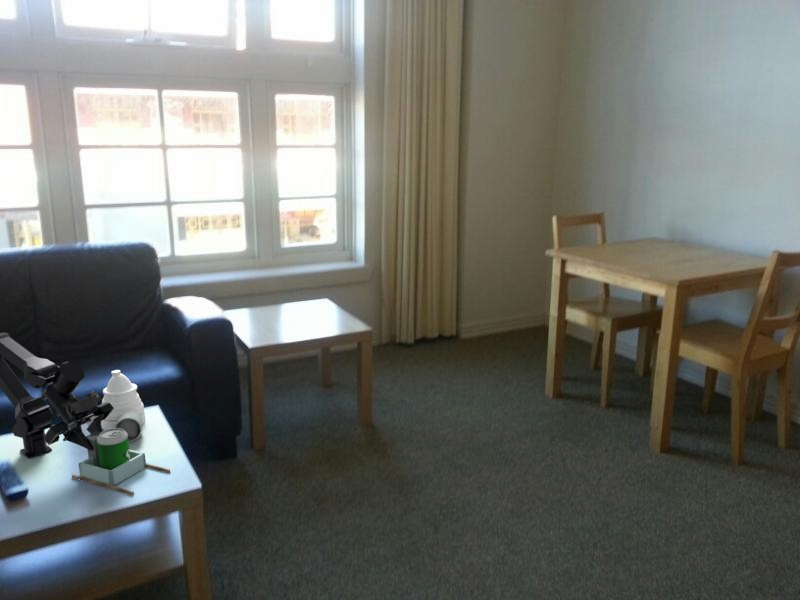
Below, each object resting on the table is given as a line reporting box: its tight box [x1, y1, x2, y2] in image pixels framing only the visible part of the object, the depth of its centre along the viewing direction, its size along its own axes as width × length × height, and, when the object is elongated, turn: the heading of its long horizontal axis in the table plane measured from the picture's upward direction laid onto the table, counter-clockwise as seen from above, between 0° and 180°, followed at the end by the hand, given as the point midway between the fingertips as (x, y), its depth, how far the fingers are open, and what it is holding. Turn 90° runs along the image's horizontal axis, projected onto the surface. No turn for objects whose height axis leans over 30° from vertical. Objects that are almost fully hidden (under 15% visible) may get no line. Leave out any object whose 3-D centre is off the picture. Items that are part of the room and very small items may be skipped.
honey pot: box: [101, 369, 146, 431], centre depth 208 cm, size 13×13×18 cm
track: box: [71, 462, 171, 496], centre depth 177 cm, size 22×13×1 cm, turn 65°
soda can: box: [97, 428, 131, 470], centre depth 177 cm, size 8×8×12 cm
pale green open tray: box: [78, 431, 147, 486], centre depth 178 cm, size 13×12×10 cm
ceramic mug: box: [114, 411, 144, 443], centre depth 199 cm, size 11×8×8 cm
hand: (98, 446), depth 179 cm, fingers closed on pale green open tray, 3 cm apart
